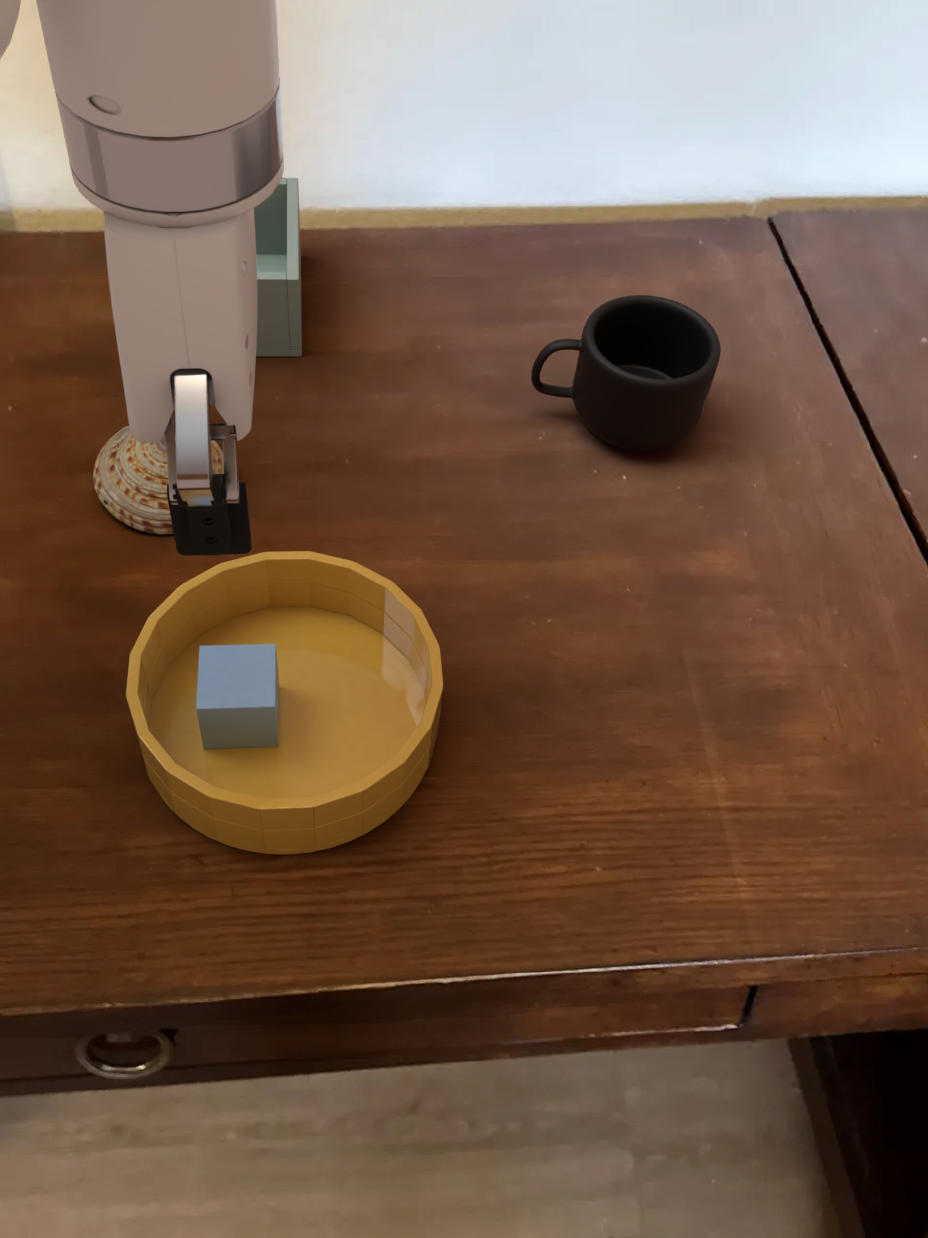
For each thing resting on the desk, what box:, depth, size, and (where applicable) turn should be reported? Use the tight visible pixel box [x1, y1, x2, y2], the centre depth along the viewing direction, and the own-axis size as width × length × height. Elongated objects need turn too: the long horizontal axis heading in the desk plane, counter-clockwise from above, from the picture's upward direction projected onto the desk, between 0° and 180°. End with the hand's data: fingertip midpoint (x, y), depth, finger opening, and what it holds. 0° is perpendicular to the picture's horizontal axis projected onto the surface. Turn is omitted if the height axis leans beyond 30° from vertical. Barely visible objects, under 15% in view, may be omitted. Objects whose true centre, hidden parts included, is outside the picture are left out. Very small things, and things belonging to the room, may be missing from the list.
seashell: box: [92, 425, 224, 535], centre depth 76 cm, size 8×6×8 cm
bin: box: [254, 177, 303, 357], centre depth 85 cm, size 12×12×7 cm
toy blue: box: [196, 644, 279, 749], centre depth 65 cm, size 4×4×4 cm
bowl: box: [125, 550, 444, 855], centre depth 65 cm, size 16×16×5 cm
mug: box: [530, 294, 722, 452], centre depth 81 cm, size 12×9×7 cm
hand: (217, 469), depth 56 cm, fingers open, 9 cm apart
